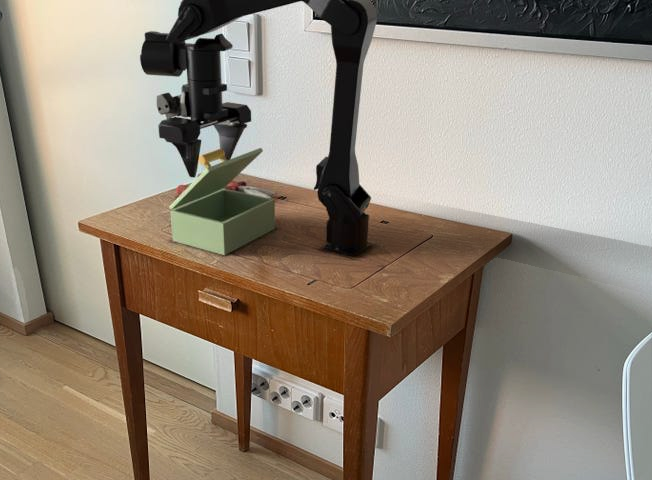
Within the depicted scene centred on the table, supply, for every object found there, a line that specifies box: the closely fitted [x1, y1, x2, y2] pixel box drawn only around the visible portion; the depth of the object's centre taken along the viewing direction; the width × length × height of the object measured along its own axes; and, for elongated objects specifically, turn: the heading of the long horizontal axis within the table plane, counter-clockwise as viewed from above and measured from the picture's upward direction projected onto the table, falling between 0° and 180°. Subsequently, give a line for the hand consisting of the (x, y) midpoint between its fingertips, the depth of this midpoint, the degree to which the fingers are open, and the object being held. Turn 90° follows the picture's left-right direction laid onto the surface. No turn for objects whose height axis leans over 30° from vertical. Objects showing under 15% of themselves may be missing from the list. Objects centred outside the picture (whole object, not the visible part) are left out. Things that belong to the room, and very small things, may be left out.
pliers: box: [176, 172, 277, 199], centre depth 154 cm, size 12×20×3 cm, turn 68°
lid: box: [168, 147, 264, 211], centre depth 130 cm, size 12×15×4 cm
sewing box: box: [169, 188, 276, 256], centre depth 133 cm, size 12×15×6 cm
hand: (209, 170), depth 130 cm, fingers open, 9 cm apart
